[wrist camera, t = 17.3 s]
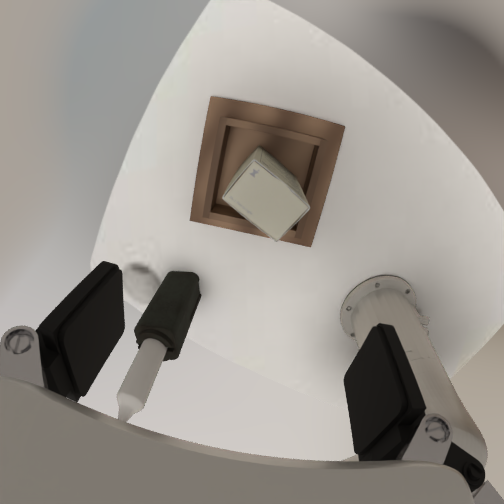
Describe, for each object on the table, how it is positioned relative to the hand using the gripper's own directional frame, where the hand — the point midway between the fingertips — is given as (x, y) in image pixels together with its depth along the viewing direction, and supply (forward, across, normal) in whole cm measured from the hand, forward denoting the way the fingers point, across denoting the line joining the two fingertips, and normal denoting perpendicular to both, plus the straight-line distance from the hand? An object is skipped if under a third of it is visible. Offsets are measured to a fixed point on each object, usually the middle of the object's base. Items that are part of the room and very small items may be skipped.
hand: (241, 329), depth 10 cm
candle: (+28, +9, +18) cm, 35 cm away
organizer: (+28, +1, 0) cm, 28 cm away
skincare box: (+27, 0, 0) cm, 27 cm away
